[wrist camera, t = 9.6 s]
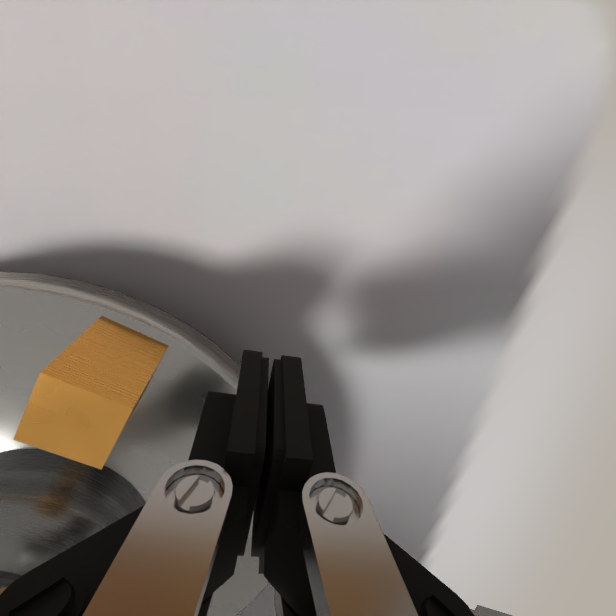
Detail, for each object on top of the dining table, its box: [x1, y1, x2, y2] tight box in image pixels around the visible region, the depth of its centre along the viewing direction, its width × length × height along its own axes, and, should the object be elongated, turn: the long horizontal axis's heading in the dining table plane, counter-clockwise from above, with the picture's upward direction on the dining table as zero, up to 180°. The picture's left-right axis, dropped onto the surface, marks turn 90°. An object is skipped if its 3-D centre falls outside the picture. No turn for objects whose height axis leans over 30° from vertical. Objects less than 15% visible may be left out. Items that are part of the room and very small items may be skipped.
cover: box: [0, 449, 146, 588], centre depth 12 cm, size 7×7×4 cm
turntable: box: [0, 272, 269, 616], centre depth 13 cm, size 18×18×4 cm
